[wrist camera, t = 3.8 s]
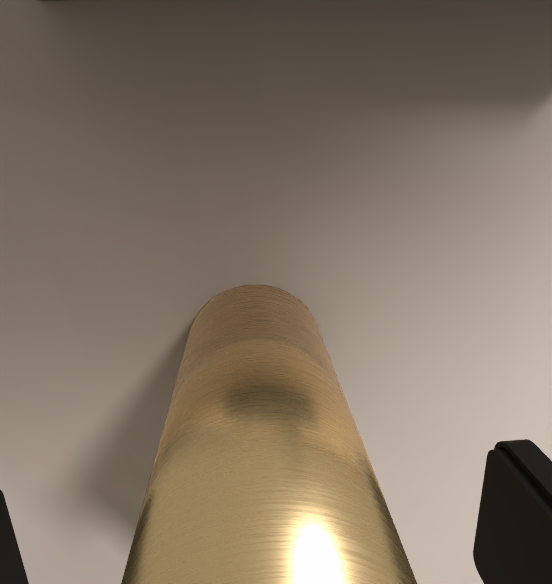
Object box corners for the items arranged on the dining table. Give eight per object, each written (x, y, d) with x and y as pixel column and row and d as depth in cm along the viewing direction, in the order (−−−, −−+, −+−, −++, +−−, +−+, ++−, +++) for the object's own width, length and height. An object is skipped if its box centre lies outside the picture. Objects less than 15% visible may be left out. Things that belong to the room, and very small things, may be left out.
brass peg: (320, 281, 14) (469, 564, 5) (319, 400, 16) (433, 794, 6) (181, 288, 14) (58, 597, 5) (193, 408, 16) (117, 828, 6)
